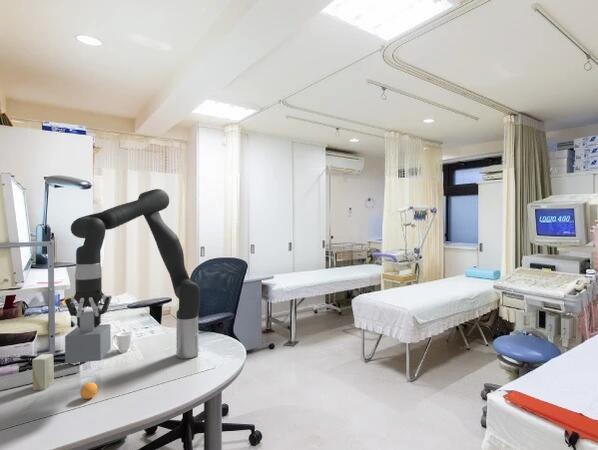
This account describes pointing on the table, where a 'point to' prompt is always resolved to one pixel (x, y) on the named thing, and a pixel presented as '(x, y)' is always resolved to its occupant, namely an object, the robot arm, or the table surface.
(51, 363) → the box
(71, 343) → the grey stepped block
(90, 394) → the ball
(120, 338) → the cup
